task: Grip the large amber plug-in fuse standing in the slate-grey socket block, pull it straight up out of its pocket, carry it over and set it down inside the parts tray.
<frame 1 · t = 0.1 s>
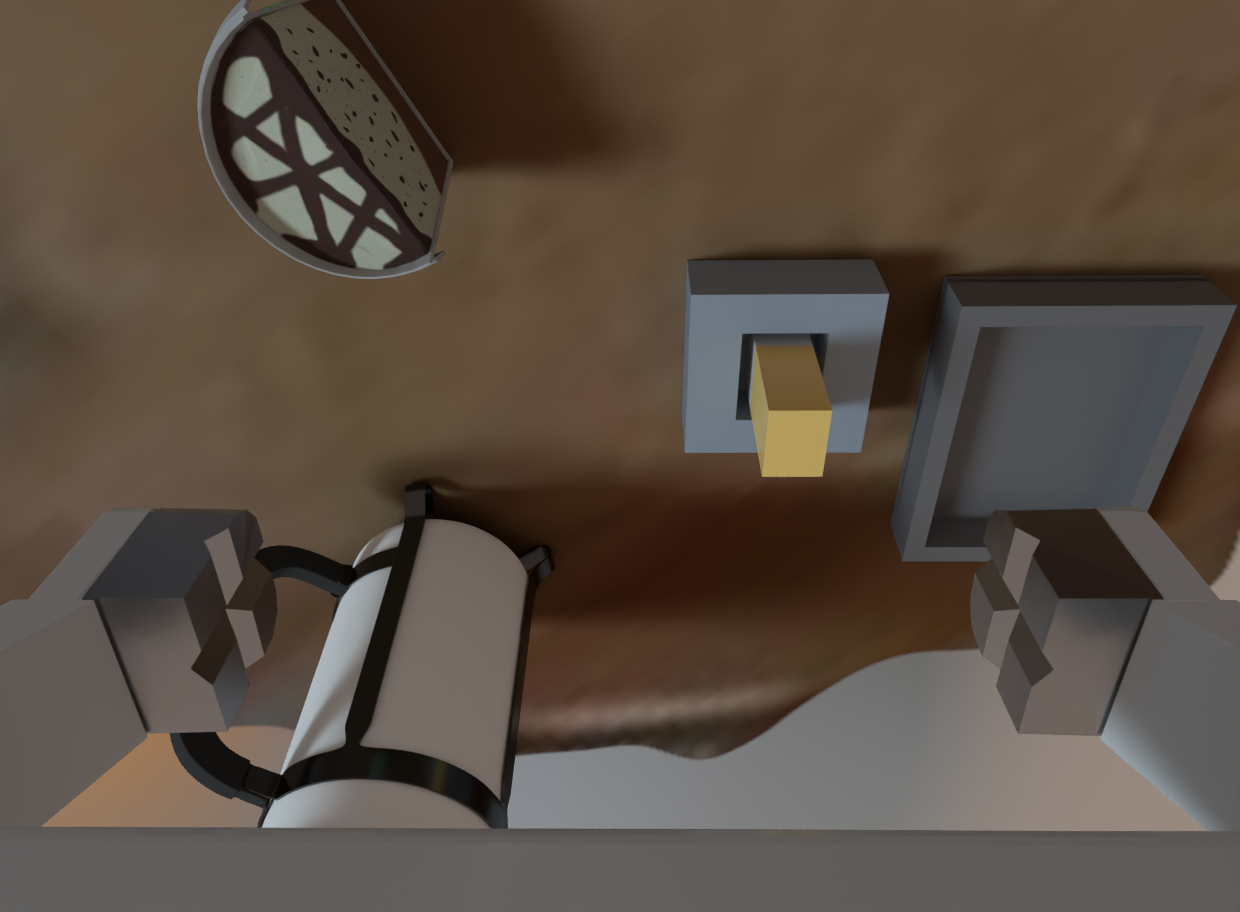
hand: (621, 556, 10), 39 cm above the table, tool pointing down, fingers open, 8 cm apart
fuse: (774, 349, 52), point 1 cm above the table, touching socket block
food container: (347, 110, 46), on the table
socket block: (771, 340, 53), on the table
coffee press: (429, 555, 64), on the table
parts tray: (1031, 411, 56), on the table
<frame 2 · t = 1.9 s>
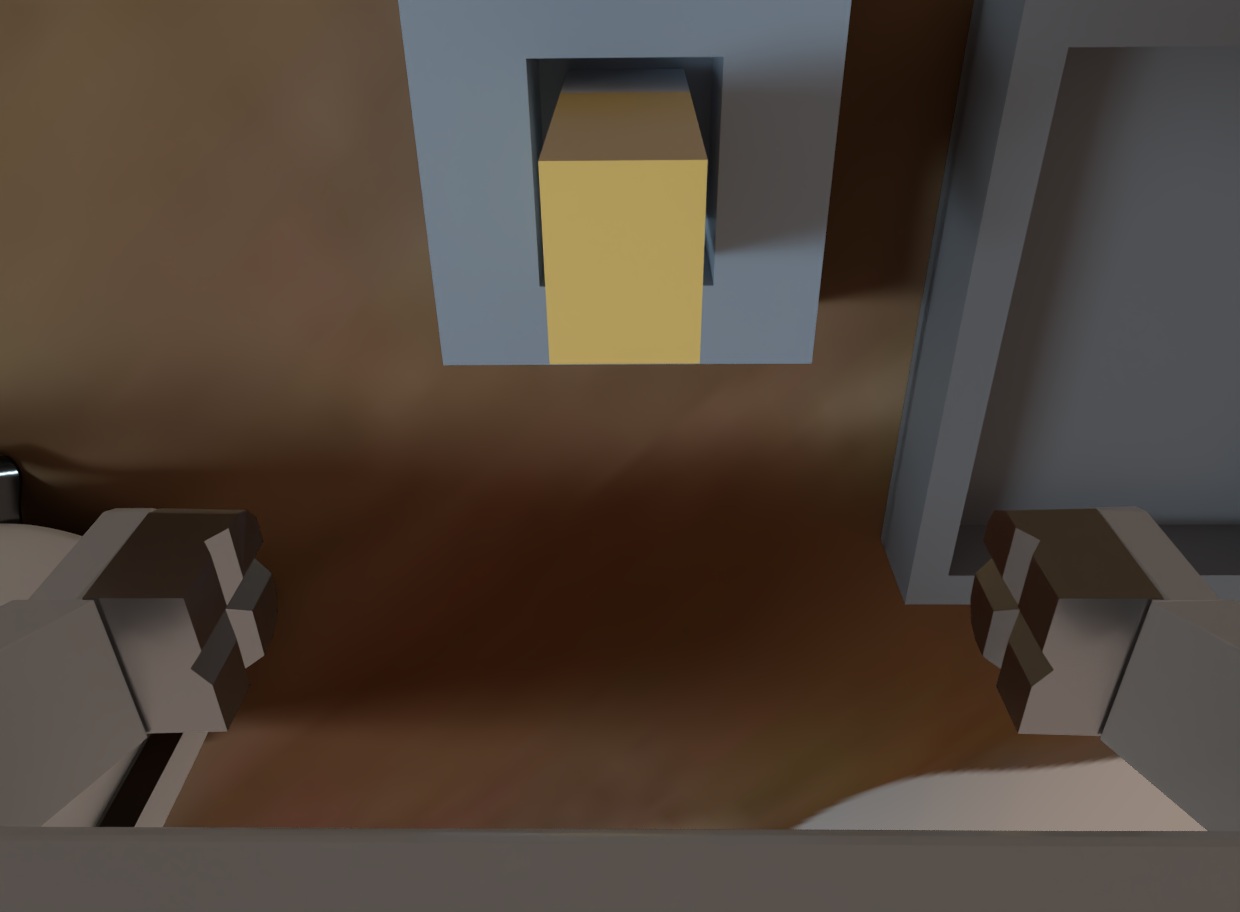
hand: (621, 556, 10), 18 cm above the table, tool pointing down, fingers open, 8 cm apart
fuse: (626, 148, 25), point 1 cm above the table, touching socket block
socket block: (626, 139, 26), on the table
coffee press: (53, 599, 36), on the table
parts tray: (1151, 303, 28), on the table
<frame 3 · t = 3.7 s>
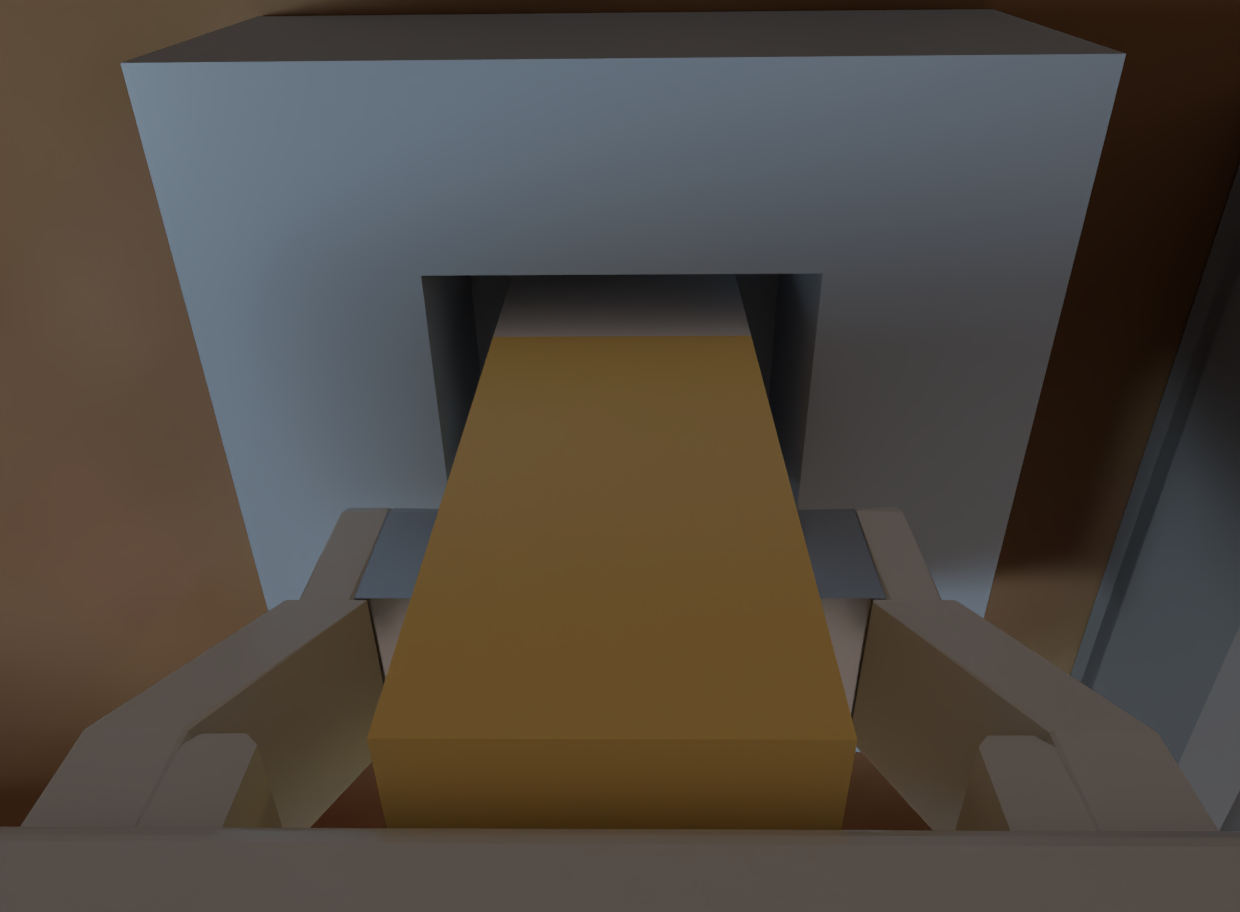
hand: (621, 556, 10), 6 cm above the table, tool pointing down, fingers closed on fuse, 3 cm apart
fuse: (625, 375, 14), point 1 cm above the table, touching gripper, socket block
socket block: (625, 348, 15), on the table
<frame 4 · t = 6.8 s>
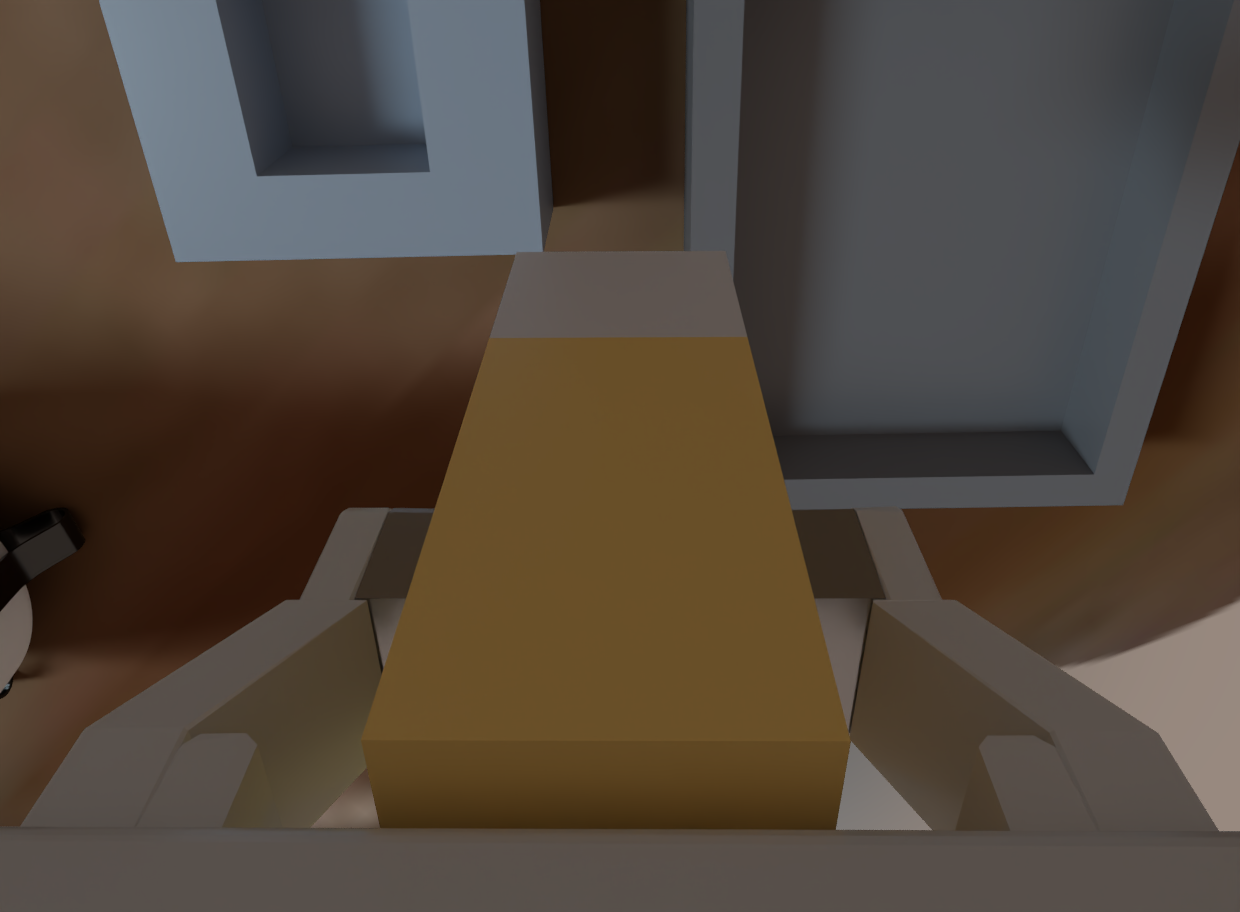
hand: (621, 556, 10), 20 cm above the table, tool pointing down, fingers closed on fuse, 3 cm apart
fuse: (622, 376, 14), point 15 cm above the table, touching gripper
socket block: (362, 34, 26), on the table
parts tray: (915, 199, 28), on the table
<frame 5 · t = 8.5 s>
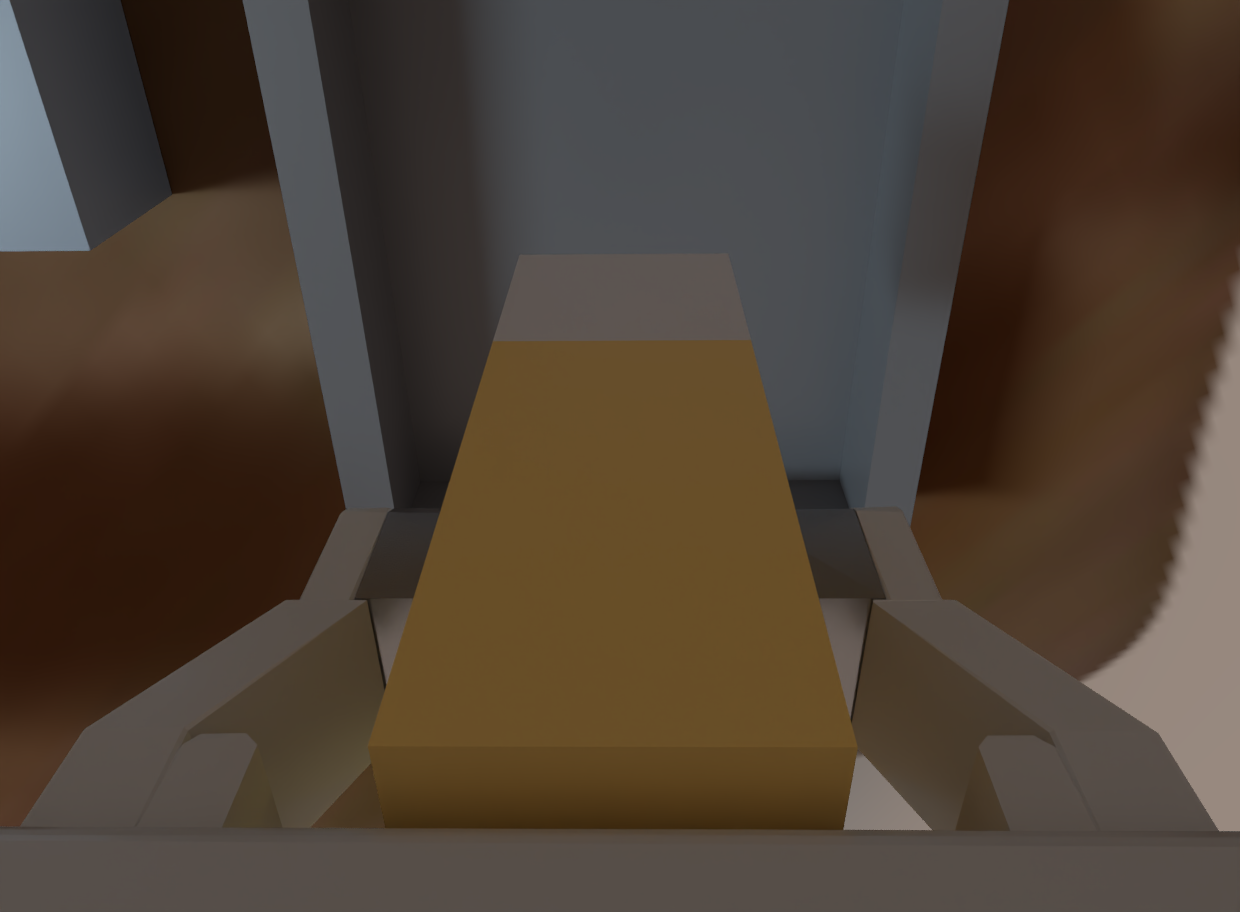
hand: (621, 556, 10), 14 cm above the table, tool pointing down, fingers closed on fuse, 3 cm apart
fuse: (624, 378, 14), point 9 cm above the table, touching gripper
parts tray: (627, 190, 22), on the table
when the fingers open (7 cm above the table, at t = 9.9 s): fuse drops 2 cm, resting on parts tray.
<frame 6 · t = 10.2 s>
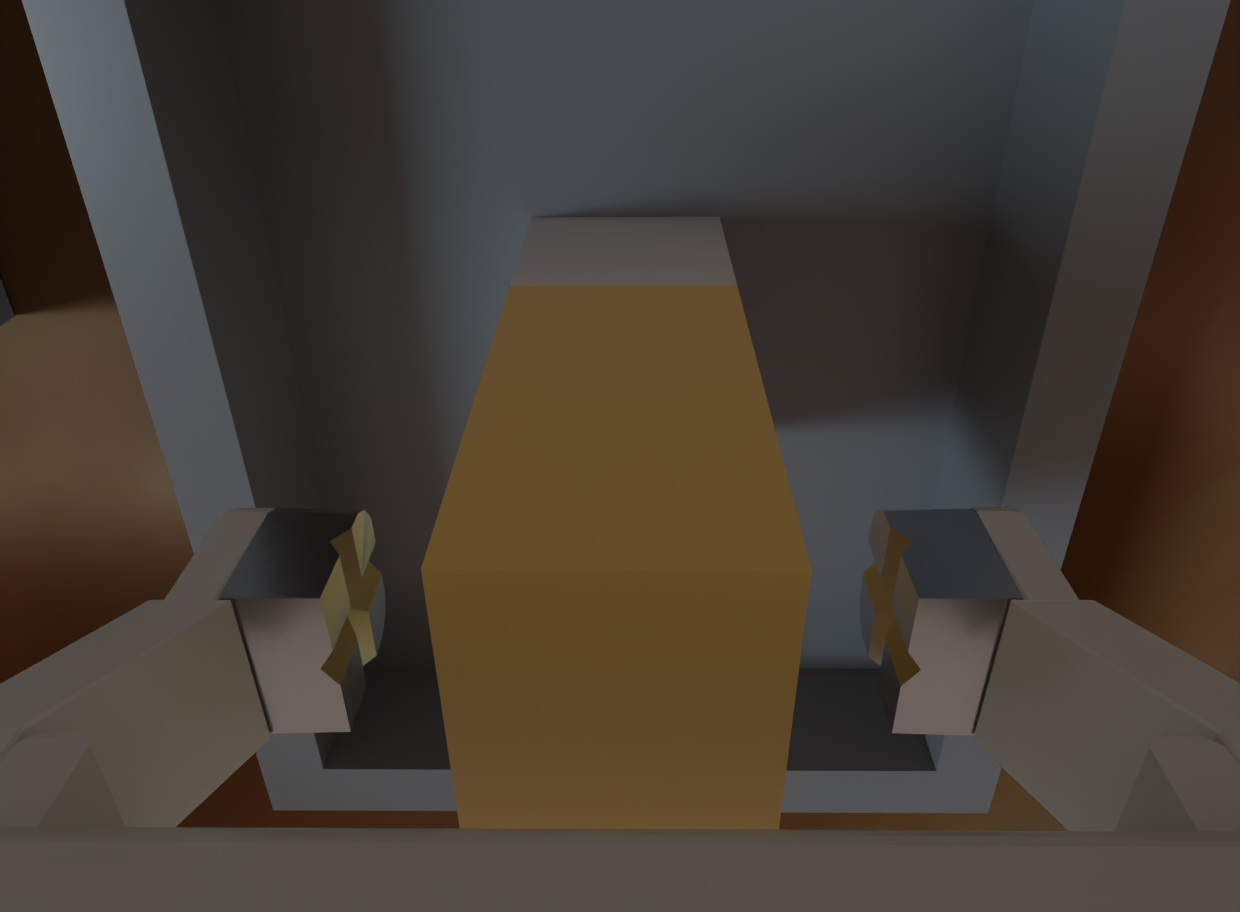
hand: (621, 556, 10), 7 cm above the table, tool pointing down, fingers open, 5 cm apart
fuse: (625, 332, 16), point 1 cm above the table, touching parts tray
parts tray: (626, 313, 17), on the table
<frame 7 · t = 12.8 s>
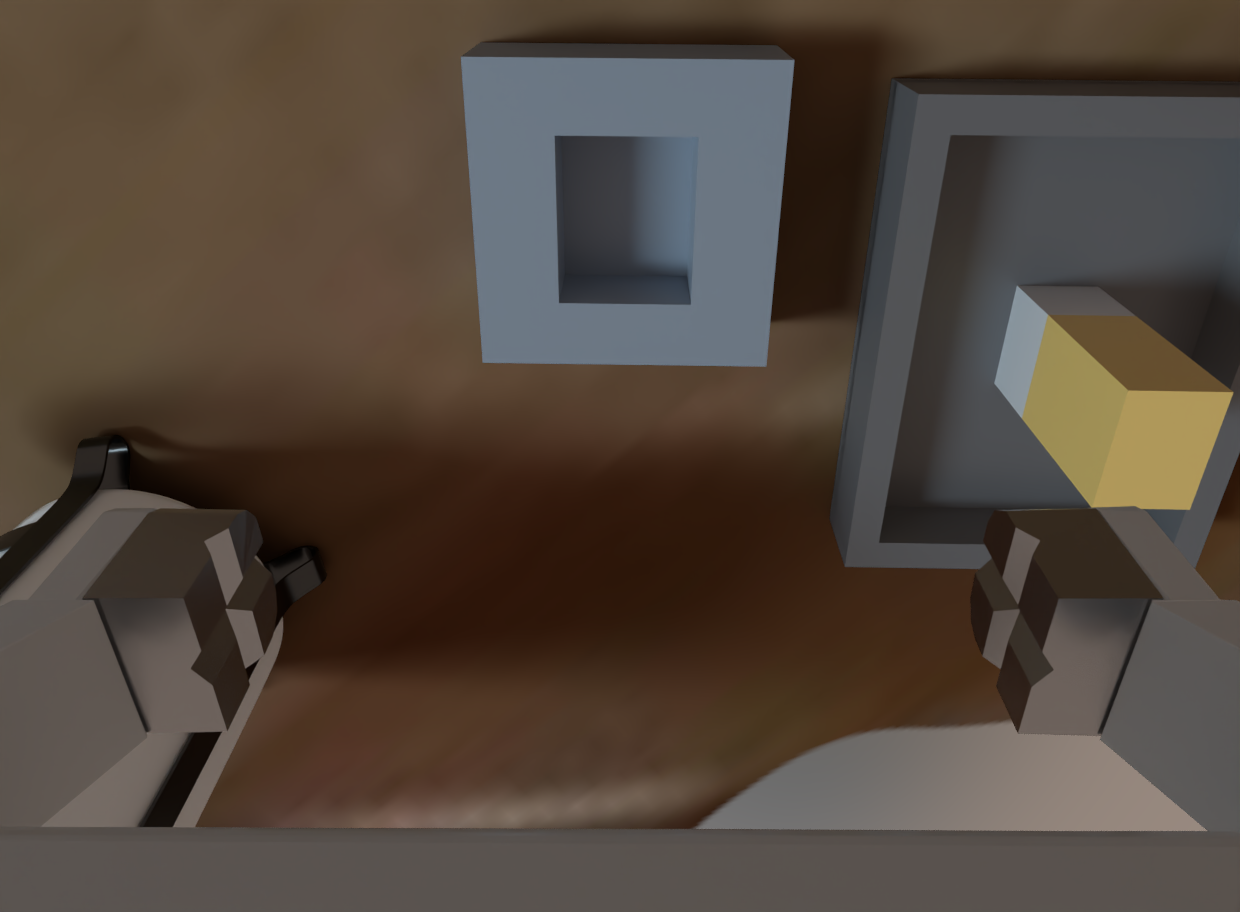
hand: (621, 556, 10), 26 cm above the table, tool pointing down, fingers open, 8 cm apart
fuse: (1044, 336, 35), point 1 cm above the table, touching parts tray
socket block: (626, 193, 34), on the table
coffee press: (143, 560, 43), on the table
parts tray: (1037, 328, 36), on the table
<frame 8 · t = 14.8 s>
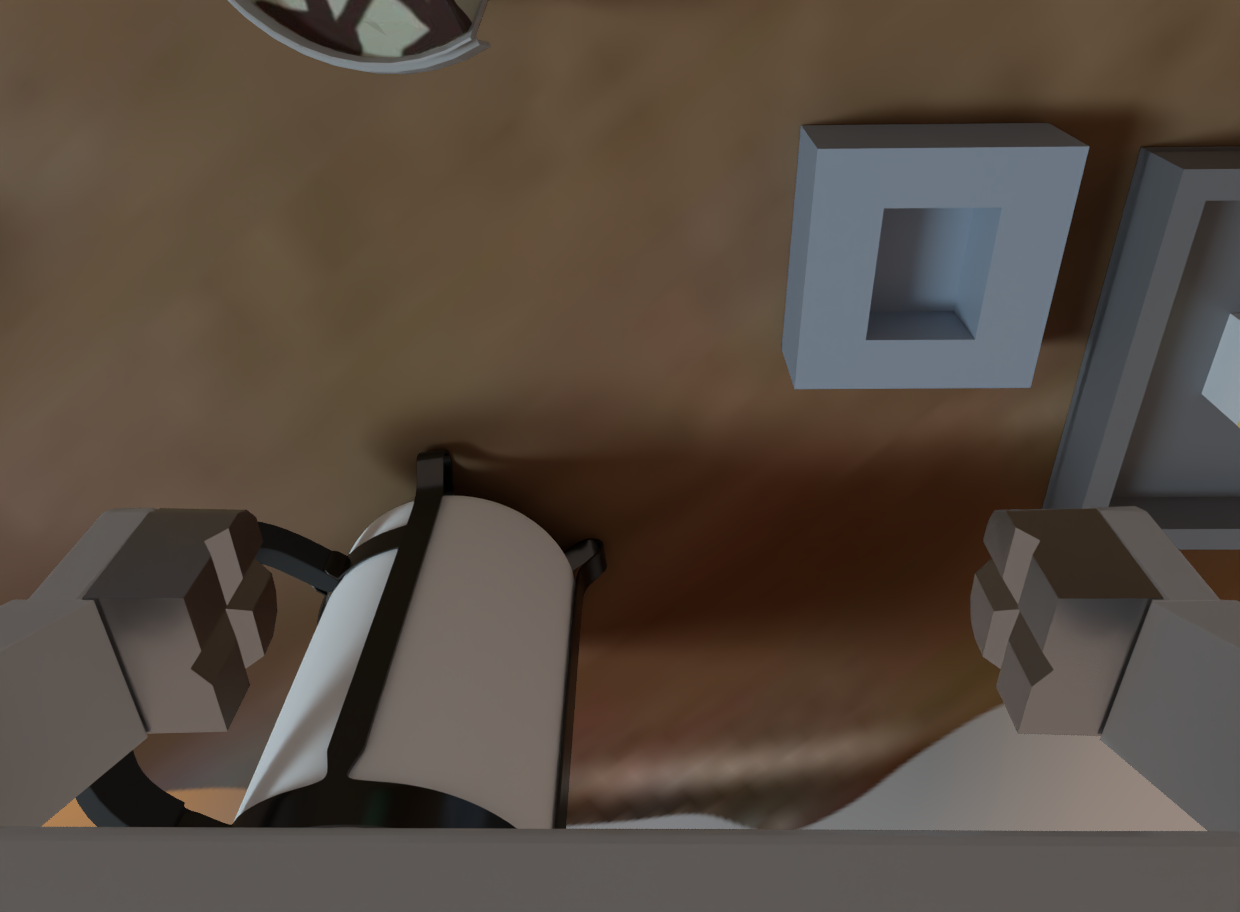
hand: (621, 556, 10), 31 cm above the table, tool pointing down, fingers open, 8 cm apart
socket block: (906, 243, 40), on the table
coffee press: (445, 553, 50), on the table
parts tray: (1239, 346, 43), on the table
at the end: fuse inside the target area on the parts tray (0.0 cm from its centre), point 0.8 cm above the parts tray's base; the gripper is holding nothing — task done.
